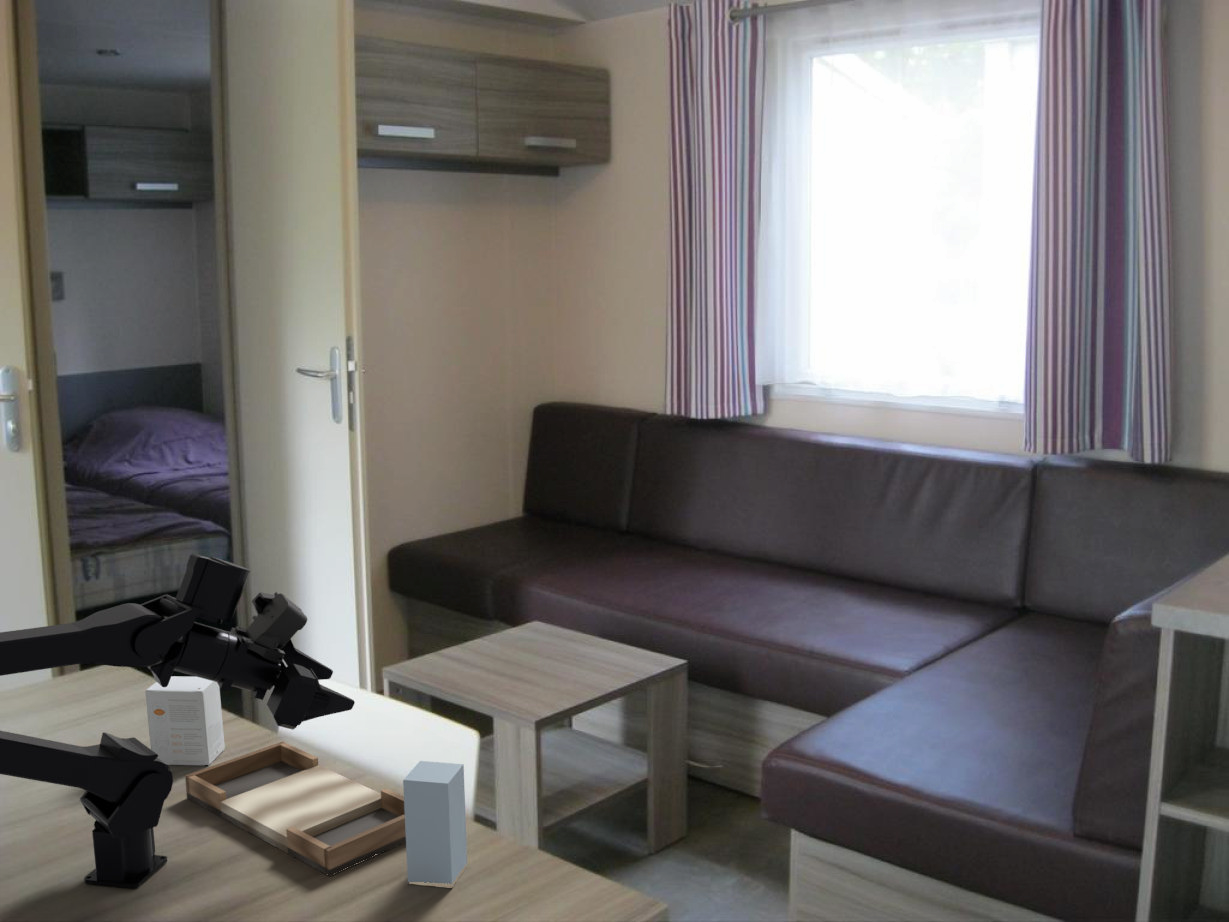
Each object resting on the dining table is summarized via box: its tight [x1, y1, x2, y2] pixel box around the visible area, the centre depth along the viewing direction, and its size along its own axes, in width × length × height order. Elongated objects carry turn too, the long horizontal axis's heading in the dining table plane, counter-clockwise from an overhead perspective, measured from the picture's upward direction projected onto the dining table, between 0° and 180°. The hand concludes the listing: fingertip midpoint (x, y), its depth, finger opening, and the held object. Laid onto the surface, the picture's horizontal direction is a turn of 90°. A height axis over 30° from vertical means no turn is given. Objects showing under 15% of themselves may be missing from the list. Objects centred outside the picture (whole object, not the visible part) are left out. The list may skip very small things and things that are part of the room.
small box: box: [144, 675, 226, 766], centre depth 173 cm, size 8×6×10 cm
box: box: [184, 741, 406, 877], centre depth 157 cm, size 30×14×3 cm, turn 48°
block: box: [402, 760, 468, 884], centre depth 141 cm, size 5×5×12 cm
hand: (342, 689), depth 155 cm, fingers open, 9 cm apart
